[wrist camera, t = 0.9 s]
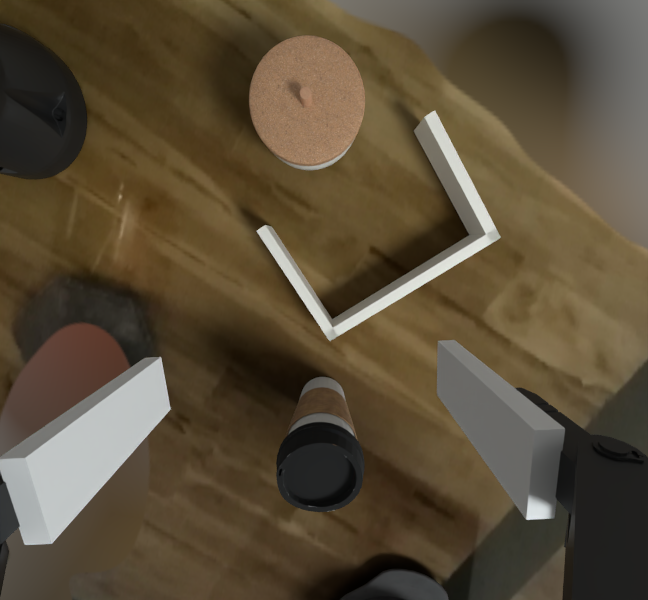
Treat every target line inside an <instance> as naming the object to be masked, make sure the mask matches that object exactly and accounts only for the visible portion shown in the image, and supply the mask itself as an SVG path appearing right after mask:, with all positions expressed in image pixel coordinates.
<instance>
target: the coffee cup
mask: <svg viewBox="0 0 648 600" xmlns="http://www.w3.org/2000/svg"><path fill="white" fill-rule="evenodd" d="M276 464H277V484H278V488H279V491H280V493H281V495H282V496H283V498H284V499H285V500H286V501H287V502H289V503H290V504H292V505H293V506H295V507H298V508H300V509H303V510H308V511H314V512H327V511H332V510H336V509H339V508H342V507H344V506H345V505H347V504H349V503H350V502H351V501H352V500H353V499H354V498H355V497H356V496H357V495H358V493H359V491H360V489H361V486H362V481H363V473H364V458H363V452H362V448H361V446H360V444H359V442H358V441H357V437H356V433H355V430H354V426H353V423H352V420H351V416H350V413H349V410H348V406H347V403H346V400H345V396H344V392H343V389H342V387H341V386H340V385H339V383H337V382H336V381H335V380H333V379H331V378H328V377H317V378H314V379H312V380H310V381H309V382H308V383H307V384H306V385H305V386H304V388H303V390H302V393H301V396H300V399H299V402H298V404H297V407H296V409H295V412H294V415H293V418H292V420H291V423H290V426H289V428H288V431H287V434H286V436H285V439H284V441H283V442H282V444H281V446H280V449H279V452H278V455H277V462H276Z"/></svg>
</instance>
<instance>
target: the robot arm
mask: <svg viewBox="0 0 648 600" xmlns="http://www.w3.org/2000/svg"><path fill="white" fill-rule="evenodd" d="M86 128H87V113H86V106H85V101H84V98H83V95H82V92H81V89H80V87H79V85H78V83H77V81H76V79H75V77H74V75H73V74H72V72H71V71H70V69H69V68H68V67H67V65H66V64H65V63H64V62H63V61H62V60H61V59H60V58H59V57H58V56H57V55H56V54H55V53H54V52H52V51H51V50H50V49H48V48H47V47H45V46H44V45H43V44H41V43H40V42H38V41H37V40H35V39H34V38H32V37H31V36H29V35H28V34H26V33H24V32H22V31H20V30H18V29H16V28H14V27H11V26H8V25H5V24H1V23H0V174H4V175H9V176H14V177H18V178H24V179H43V178H48V177H51V176H54V175H56V174H58V173H60V172H62V171H63V170H64V169H66V168H67V167H68V166H69V165H70V164H71V163H72V162H73V161H74V160H75V158H76V157H77V155H78V154H79V152H80V150H81V148H82V145H83V143H84V139H85V135H86ZM437 395H438V397H439V398H440V399H441V401H442V402H443V404H444V405H445V406H446V408H447V409H448V411H449V412H450V413H451V415H452V416H453V418H454V419H455V420H456V422H457V423H458V425H459V426H460V428H461V429H462V430H463V432H464V433H465V435H466V436H467V437H468V439H469V440H470V442H471V443H472V444H473V446H474V447H475V449H476V450H477V451H478V453H479V454H480V456H481V457H482V458H483V460H484V461H485V463H486V464H487V465H488V467H489V468H490V470H491V471H492V472H493V474H494V475H495V477H496V478H497V479H498V481H499V482H500V484H501V485H502V486H503V488H504V489H505V491H506V492H507V493H508V495H509V496H510V498H511V499H512V500H513V502H514V503H515V505H516V506H517V507H518V509H519V510H520V512H521V513H522V514H523V516H524V517H525V519H526V520H531V519H550V518H555V510H556V502H557V500H558V501H559V502H560V503H561V504H562V505H563V507H564V508H565V509H566V510H567V511H568V512H569V515H568V522H567V530H566V538H565V545H564V547H566V552H565V568H564V584H563V600H648V458H647V456H646V455H645V454H643V453H642V452H641V451H639V450H638V449H637V448H635V447H633V446H631V445H629V444H627V443H625V442H623V441H620V440H617V439H614V438H611V437H606V436H602V435H590V434H589V433H588V432H586V431H585V430H584V429H582V428H581V427H580V426H578V425H577V424H576V423H574V422H573V421H572V420H570V419H569V418H568V417H566V416H565V415H563V414H562V413H561V412H558V410H557V409H555V408H554V407H553V406H551V405H549V404H548V403H547V402H546V401H545V400H543V399H542V398H541V397H539V396H538V395H537V394H534V393H532V392H530V391H528V390H526V389H523V388H514V387H512V386H511V385H510V384H509V383H507V382H506V381H505V380H504V379H502V378H501V377H500V376H499V375H497V374H496V373H495V372H494V371H492V370H491V369H490V368H489V367H487V366H486V365H485V364H484V363H482V362H481V361H480V360H479V359H477V358H476V357H475V356H474V355H472V354H471V353H470V352H469V351H467V350H466V349H465V348H464V347H462V346H461V345H460V344H459V343H457V342H456V341H455V340H446V341H438V362H437ZM170 409H171V408H170V403H169V398H168V392H167V387H166V382H165V376H164V371H163V365H162V360H161V357H152V358H144V359H143V360H141V361H140V362H138V363H137V364H135V365H134V366H132V367H131V368H129V369H128V370H127V371H125V372H124V373H122V374H121V375H119V376H118V377H116V378H115V379H113V380H112V381H110V382H109V383H107V384H106V385H105V386H103V387H102V388H100V389H99V390H97V391H96V392H94V393H93V394H91V395H90V396H89V397H87V398H85V399H84V400H83V401H81V402H80V403H78V404H77V405H75V406H74V407H72V408H71V409H69V410H68V411H66V412H65V413H63V414H62V415H61V416H59V417H58V418H56V419H55V420H53V421H52V422H50V423H49V424H47V425H46V426H44V427H43V428H41V429H40V430H38V431H37V432H36V433H34V434H33V435H31V436H30V437H28V438H27V439H25V440H24V441H23V442H21V443H20V444H18V445H16V446H15V447H14V448H12V449H11V450H9V451H8V452H6V453H5V454H3V455H2V456H0V595H1V590H2V585H3V580H4V574H5V569H6V564H7V559H8V554H9V550H8V546H7V543H6V539H7V538H8V537H9V536H10V535H11V534H12V533H13V532H14V531H15V530H16V529H17V528H18V527H19V529H20V532H21V535H22V538H23V541H24V544H25V545H35V544H52V543H53V542H54V541H55V539H56V538H57V537H58V536H59V535H60V534H61V533H62V532H63V530H64V529H65V528H66V527H67V526H68V525H69V524H70V523H71V521H72V520H73V519H74V518H75V517H76V516H77V515H78V513H79V512H80V511H81V510H82V509H83V508H84V507H85V505H86V504H87V503H88V502H89V501H90V500H91V499H92V498H93V496H94V495H95V494H96V493H97V492H98V491H99V490H100V488H101V487H102V486H103V485H104V484H105V483H106V482H107V481H108V479H109V478H110V477H111V476H112V475H113V474H114V473H115V472H116V470H117V469H118V468H119V467H120V466H121V465H122V464H123V462H124V461H125V460H126V459H127V458H128V457H129V456H130V455H131V454H132V452H133V451H134V450H135V449H136V448H137V447H138V445H139V444H140V443H141V442H142V441H143V440H144V439H145V438H146V437H147V435H148V434H149V433H150V432H151V431H152V430H153V429H154V427H155V426H156V425H157V424H158V423H159V422H160V421H161V420H162V418H163V417H164V416H165V415H166V414H167V413H168V412H169V411H170Z"/></svg>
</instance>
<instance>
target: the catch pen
mask: <svg viewBox="0 0 648 600" xmlns="http://www.w3.org/2000/svg"><path fill="white" fill-rule="evenodd" d="M414 133H415V135H416V137H417V138H418V140H419V142H420V144H421V146H422V148H423V150H424V151H425V153H426V155H427V157H428V159H429V161H430V163H431V164H432V166H433V168H434V170H435V172H436V174H437V176H438V178H439V179H440V181H441V183H442V185H443V187H444V189H445V191H446V192H447V194H448V196H449V198H450V200H451V202H452V204H453V205H454V207H455V209H456V211H457V213H458V215H459V217H460V219H461V220H462V222H463V224H464V226H465V228H466V230H467V232H468V233H469V236H467V237H465V238H464V239H462V240H460V241H459V242H457V243H456V244H454V245H452V246H451V247H449V248H447V249H446V250H444V251H442V252H441V253H439V254H438V255H436V256H434V257H433V258H431V259H429V260H428V261H426V262H425V263H423V264H421V265H420V266H418V267H416V268H415V269H413V270H412V271H410V272H408V273H407V274H405V275H403V276H402V277H400V278H399V279H397V280H395V281H394V282H392V283H390V284H389V285H387V286H385V287H384V288H382V289H381V290H379V291H377V292H376V293H374V294H372V295H371V296H369V297H368V298H366V299H364V300H363V301H361V302H359V303H358V304H356V305H355V306H353V307H351V308H350V309H348V310H346V311H345V312H343V313H341V314H340V315H338V316H337V317H335V318H333V319H332V318H331V316H330V315H329V313H328V312H327V310H326V309H325V307H324V306H323V304H322V303H321V301H320V300H319V298H318V297H317V295H316V293H315V292H314V290H313V289H312V287H311V286H310V284H309V283H308V281H307V280H306V278H305V277H304V275H303V274H302V272H301V271H300V269H299V267H298V266H297V264H296V263H295V261H294V260H293V258H292V257H291V255H290V254H289V252H288V251H287V249H286V248H285V246H284V244H283V243H282V241H281V240H280V238H279V237H278V235H277V234H276V232H275V231H274V229H273V228H272V226H268V225H264V226H263V227H261V228H260V229H258V230H257V233H258V234H259V236H260V237H261V239H262V240H263V242H264V243H265V245H266V246H267V248H268V249H269V251H270V252H271V254H272V255H273V257H274V258H275V260H276V261H277V263H278V264H279V266H280V267H281V269H282V270H283V272H284V273H285V275H286V276H287V278H288V279H289V281H290V282H291V284H292V285H293V287H294V288H295V290H296V291H297V293H298V294H299V296H300V297H301V299H302V300H303V302H304V303H305V305H306V306H307V308H308V309H309V311H310V312H311V314H312V315H313V317H314V318H315V320H316V321H317V323H318V324H319V326H320V327H321V329H322V330H323V332H324V334H325V335H326V337H327V338H328V340H329V341H331V340H333V339H334V338H336V337H337V336H339V335H341V334H342V333H344V332H346V331H347V330H349V329H351V328H352V327H354V326H356V325H357V324H359V323H361V322H362V321H364V320H366V319H367V318H369V317H371V316H372V315H374V314H376V313H377V312H379V311H380V310H382V309H384V308H385V307H387V306H389V305H390V304H392V303H394V302H395V301H397V300H399V299H400V298H402V297H404V296H405V295H407V294H409V293H410V292H412V291H414V290H415V289H417V288H419V287H420V286H422V285H423V284H425V283H427V282H428V281H430V280H432V279H433V278H435V277H437V276H438V275H440V274H442V273H443V272H445V271H447V270H448V269H450V268H452V267H453V266H455V265H457V264H458V263H460V262H462V261H463V260H465V259H466V258H468V257H470V256H471V255H473V254H475V253H476V252H478V251H480V250H481V249H483V248H485V247H486V246H488V245H490V244H491V243H493V242H495V241H496V240H498V239H500V238H501V237H500V235H499V233H498V231H497V229H496V227H495V225H494V224H493V222H492V220H491V218H490V216H489V214H488V212H487V210H486V208H485V206H484V204H483V202H482V200H481V198H480V197H479V195H478V193H477V191H476V189H475V187H474V185H473V183H472V181H471V179H470V177H469V175H468V173H467V171H466V170H465V168H464V166H463V164H462V162H461V160H460V158H459V156H458V154H457V152H456V150H455V148H454V146H453V144H452V143H451V141H450V139H449V137H448V135H447V133H446V131H445V129H444V127H443V125H442V123H441V121H440V119H439V117H438V116H437V114H436V112H435V110H434V111H433V112H431V113H430V114H428V115H427V116H425V117H424V118H423V120H422V121H421V122H420V123H419V125H418V126H417V127H416V129H415V130H414Z"/></svg>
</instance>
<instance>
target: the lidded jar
mask: <svg viewBox="0 0 648 600" xmlns="http://www.w3.org/2000/svg"><path fill="white" fill-rule="evenodd" d="M249 109H250V115H251V119H252V122H253V125H254V127H255V129H256V132H257V134H258V135H259V137H260V138H261V140H262V142H263V143H264V144H265V145H266V146H267V148H268V149H269V150H270V151H271V152H272V153H273V154H274V155H275V156H276V157H278V158H279V159H280V160H281V161H283V162H284V163H286V164H288V165H289V166H292V167H294V168H297V169H302V170H318V169H322V168H325V167H327V166H329V165H332V164H333V163H335V162H336V161H338V160H339V159H340V158H341V157H342V156H343V155H344V154H345V153H346V151H347V150H348V149H349V148H350V146H351V144H352V143H353V141H354V139H355V137H356V135H357V133H358V131H359V128H360V126H361V123H362V119H363V115H364V109H365V91H364V86H363V81H362V78H361V76H360V73H359V70H358V69H357V67H356V65H355V63H354V62H353V60H352V59H351V58H350V56H349V55H348V54H347V53H346V52H345V51H344V50H343V49H342V48H341V47H339V46H338V45H336V44H335V43H333V42H331V41H329V40H327V39H324V38H321V37H317V36H307V35H304V36H296V37H292V38H289V39H286V40H284V41H282V42H280V43H278V44H277V45H276V46H274V47H273V48H272V49H270V50H269V51H268V52H267V54H266V55H265V56H264V57H263V58H262V60H261V61H260V63H259V64H258V66H257V68H256V70H255V72H254V74H253V77H252V81H251V84H250V91H249Z"/></svg>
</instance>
